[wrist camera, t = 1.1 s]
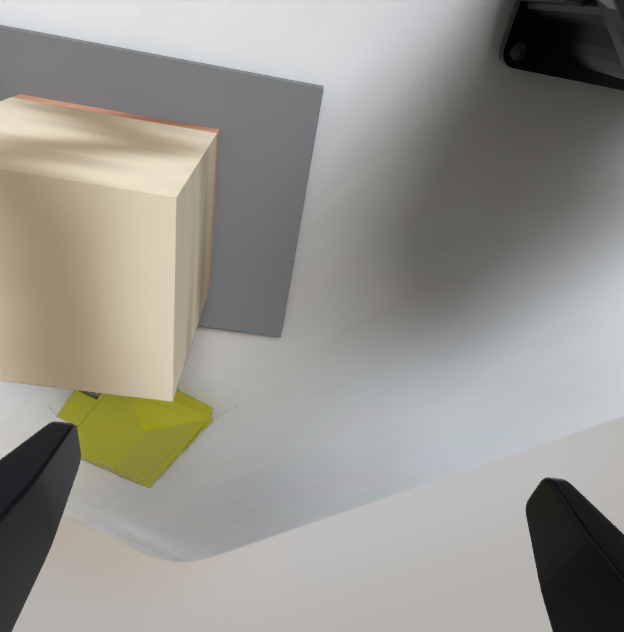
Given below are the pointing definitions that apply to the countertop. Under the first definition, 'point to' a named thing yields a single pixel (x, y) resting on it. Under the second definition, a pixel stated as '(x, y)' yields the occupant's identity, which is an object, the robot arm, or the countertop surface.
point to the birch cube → (102, 246)
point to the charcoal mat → (233, 152)
